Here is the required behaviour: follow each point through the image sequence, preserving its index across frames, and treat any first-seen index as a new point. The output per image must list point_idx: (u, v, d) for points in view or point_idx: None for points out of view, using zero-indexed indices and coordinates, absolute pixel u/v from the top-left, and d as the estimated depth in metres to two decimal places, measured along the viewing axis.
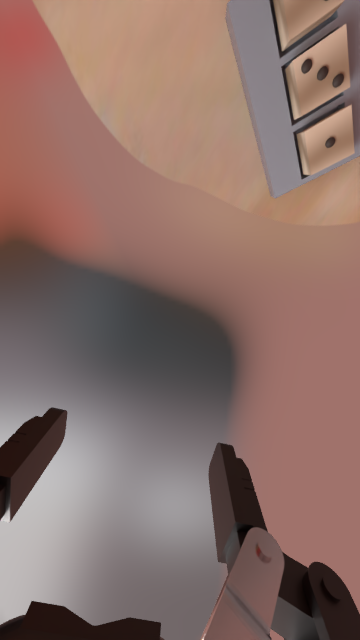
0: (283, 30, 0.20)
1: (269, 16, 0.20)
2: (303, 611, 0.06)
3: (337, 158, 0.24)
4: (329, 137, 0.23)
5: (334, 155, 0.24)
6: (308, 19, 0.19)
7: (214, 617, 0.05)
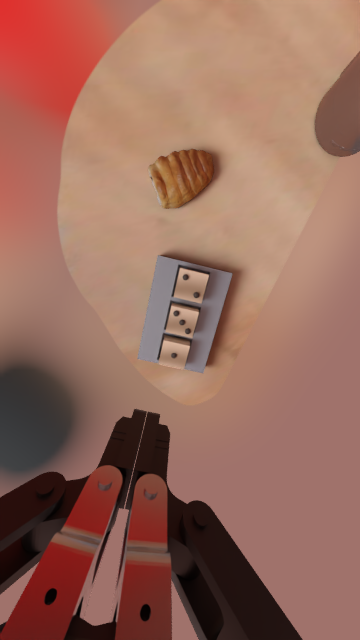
0: None
1: (174, 277, 0.34)
2: (173, 537, 0.07)
3: (174, 365, 0.36)
4: (174, 353, 0.35)
5: (173, 363, 0.36)
6: (184, 296, 0.33)
7: (123, 586, 0.05)
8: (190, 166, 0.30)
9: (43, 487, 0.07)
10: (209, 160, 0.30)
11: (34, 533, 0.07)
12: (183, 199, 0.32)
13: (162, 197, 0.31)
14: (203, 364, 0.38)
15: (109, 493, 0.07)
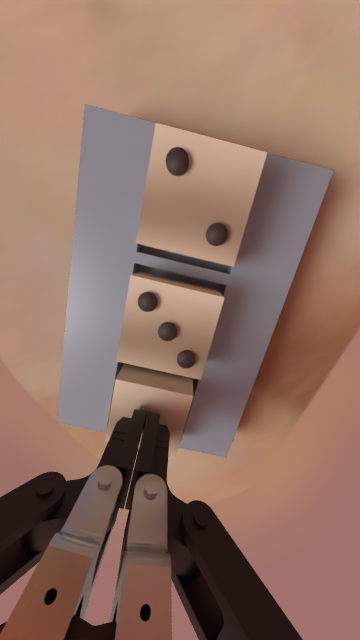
0: None
1: (142, 186, 0.11)
2: (173, 537, 0.07)
3: None
4: None
5: None
6: (174, 242, 0.09)
7: (123, 586, 0.05)
8: None
9: (43, 487, 0.07)
10: None
11: (34, 533, 0.07)
12: None
13: None
14: (227, 437, 0.15)
15: (109, 493, 0.07)
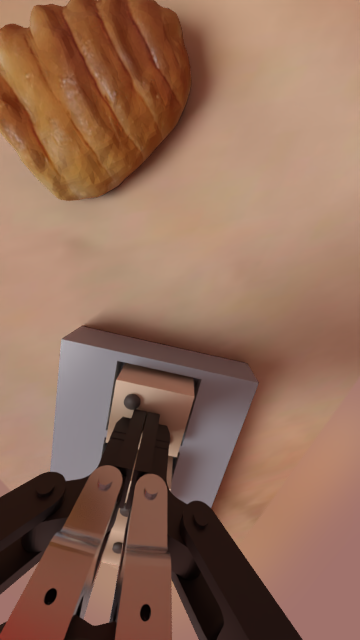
0: None
1: (109, 389, 0.13)
2: (173, 537, 0.07)
3: None
4: (119, 543, 0.16)
5: (119, 559, 0.16)
6: None
7: (123, 586, 0.05)
8: (106, 47, 0.09)
9: (43, 487, 0.07)
10: (172, 32, 0.09)
11: (34, 533, 0.07)
12: (106, 170, 0.11)
13: (32, 164, 0.10)
14: None
15: (109, 493, 0.07)
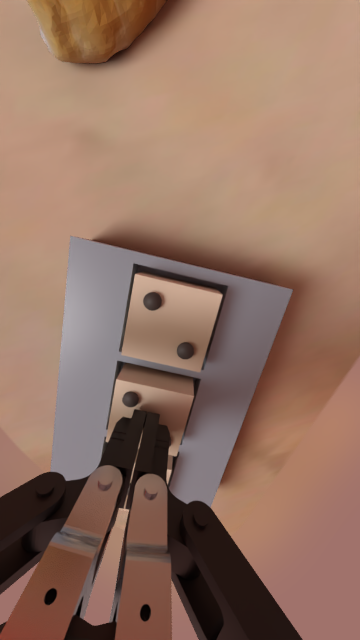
0: None
1: (123, 299, 0.12)
2: (173, 537, 0.07)
3: None
4: None
5: None
6: (152, 354, 0.12)
7: (123, 586, 0.05)
8: None
9: (43, 487, 0.07)
10: None
11: (34, 533, 0.07)
12: (114, 2, 0.09)
13: None
14: (206, 502, 0.16)
15: (109, 493, 0.07)
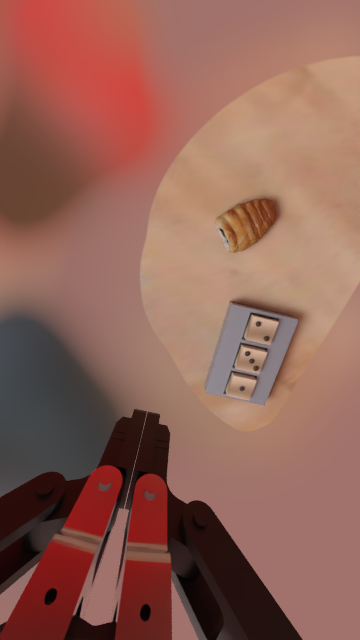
0: (246, 332, 0.39)
1: (245, 322, 0.38)
2: (173, 537, 0.07)
3: (241, 397, 0.41)
4: (242, 386, 0.40)
5: (240, 395, 0.41)
6: (255, 339, 0.38)
7: (123, 586, 0.05)
8: (257, 215, 0.33)
9: (43, 487, 0.07)
10: (272, 207, 0.34)
11: (34, 533, 0.07)
12: (250, 243, 0.35)
13: (233, 245, 0.34)
14: (265, 397, 0.42)
15: (109, 493, 0.07)
